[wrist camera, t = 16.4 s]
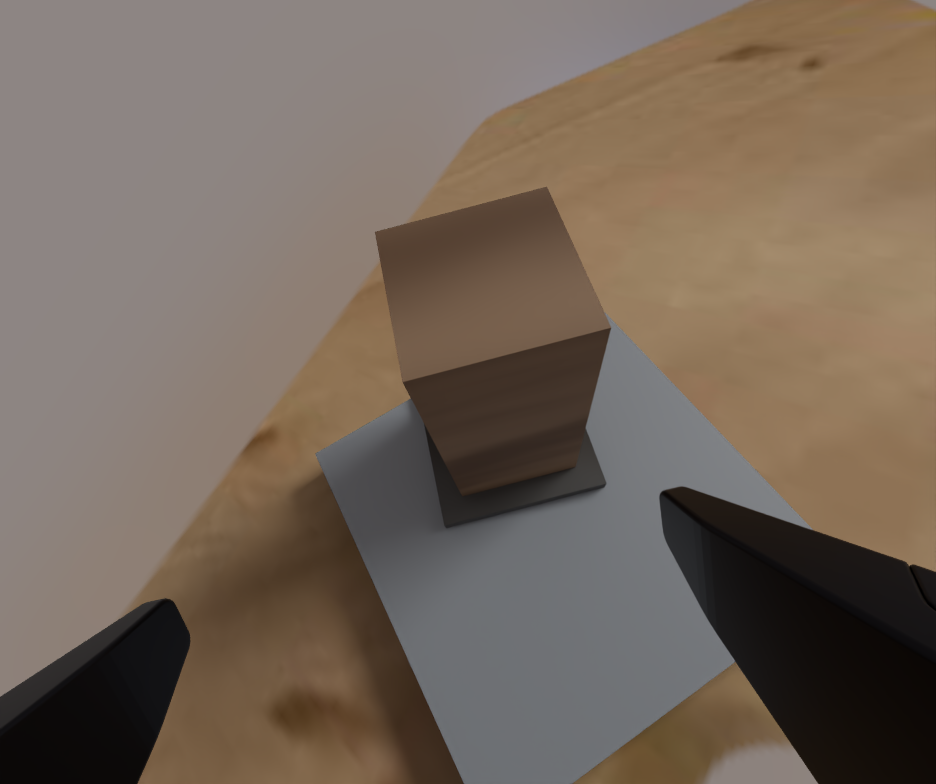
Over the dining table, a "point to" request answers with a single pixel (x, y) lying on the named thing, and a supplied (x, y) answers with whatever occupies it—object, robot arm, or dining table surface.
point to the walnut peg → (497, 352)
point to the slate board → (548, 580)
